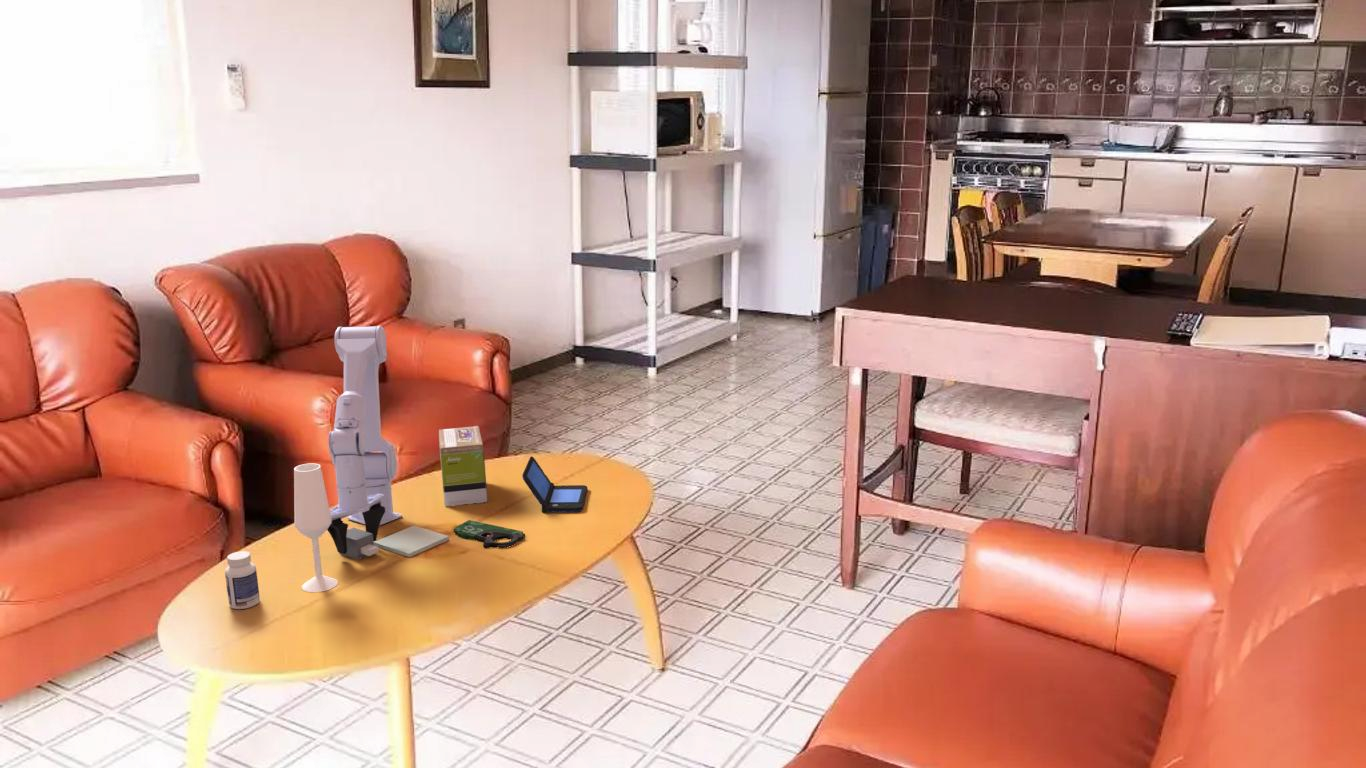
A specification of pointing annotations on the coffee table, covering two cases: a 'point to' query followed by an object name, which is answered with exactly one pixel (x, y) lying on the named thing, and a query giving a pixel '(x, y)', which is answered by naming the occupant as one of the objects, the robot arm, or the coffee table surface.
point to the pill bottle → (241, 581)
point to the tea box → (462, 466)
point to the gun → (488, 534)
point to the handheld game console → (553, 491)
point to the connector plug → (359, 544)
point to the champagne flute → (312, 518)
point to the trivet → (411, 541)
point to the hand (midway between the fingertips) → (357, 546)
